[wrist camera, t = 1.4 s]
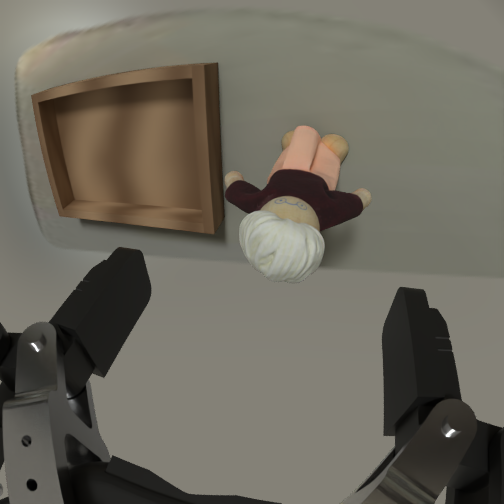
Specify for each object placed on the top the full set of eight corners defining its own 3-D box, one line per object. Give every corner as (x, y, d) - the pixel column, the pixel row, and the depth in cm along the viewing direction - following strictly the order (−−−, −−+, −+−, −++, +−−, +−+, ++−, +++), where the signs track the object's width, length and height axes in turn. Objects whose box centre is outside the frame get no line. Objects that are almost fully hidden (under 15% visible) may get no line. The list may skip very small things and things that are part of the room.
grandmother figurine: (361, 120, 19) (393, 214, 9) (363, 174, 21) (383, 308, 11) (246, 127, 21) (157, 221, 11) (255, 178, 23) (187, 302, 13)
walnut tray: (217, 62, 18) (203, 65, 16) (224, 217, 25) (214, 234, 23) (50, 88, 21) (31, 95, 19) (74, 203, 28) (59, 216, 26)
